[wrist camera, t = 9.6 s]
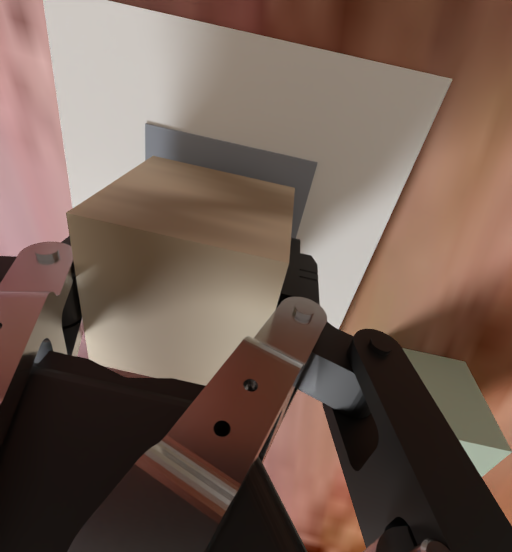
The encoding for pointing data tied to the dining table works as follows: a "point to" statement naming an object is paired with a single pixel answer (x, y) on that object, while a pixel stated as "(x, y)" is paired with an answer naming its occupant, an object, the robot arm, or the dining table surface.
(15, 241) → the dining table surface
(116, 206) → the birch block
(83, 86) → the base plate
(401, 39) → the dining table surface
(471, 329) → the dining table surface
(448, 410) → the sage block
